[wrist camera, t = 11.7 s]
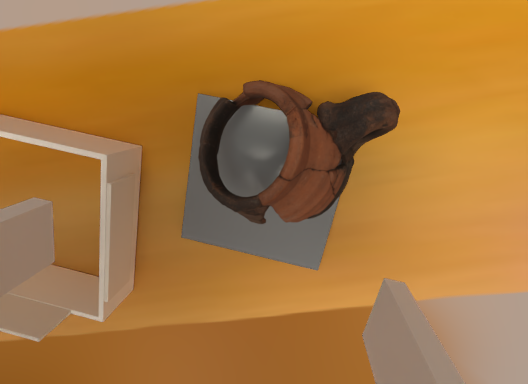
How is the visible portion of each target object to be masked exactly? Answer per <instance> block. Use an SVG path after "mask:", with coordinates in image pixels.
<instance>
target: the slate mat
mask: <svg viewBox="0 0 528 384" xmlns="http://www.w3.org/2000/svg"><path fill="white" fill-rule="evenodd" d="M219 99H220V98H218V97H214V96H209V95H204V94H199V93H198V98H197V107H196V115H195V124H194V132H193V141H192V150H191V158H190V167H189V175H188V184H187V193H186V201H185V210H184V218H183V227H182V236H181V237H182V238H186V239H190V240H195V241H199V242H203V243H207V244H211V245H215V246H219V247H223V248H227V249H231V250H236V251H240V252H244V253H248V254H252V255H256V256H260V257H264V258H268V259H273V260H277V261H281V262H285V263H289V264H293V265H297V266H301V267H305V268H310V269H314V270H318V269H319V265H320V262H321V258H322V255H323V252H324V248H325V245H326V241H327V238H328V235H329V231H330V228H331V224H332V221H333V218H334V214H335V211H336V207H337V204H338V201H339V197H340V196H339V197H338V198H337V200H336V201H335V202H334V204H333V205H332V206H331V207H330V208H329V209H328V210H327V211H326V212H324V213H323V214H321V215H320V216H317V217H315V218H310V219H305V220H302V221H300V222H288V223H286V222H284V221H283V220H282V219H281V218H280V217H279V215H278V214H277V213H276V212H275V211H274V209H273V207H271V206H270V207H269V208H268V209H267V211H266V212H265V216H264V218H265V219H266V223H264V224H257V223H254V222H250V221H249V220H248V219H247V218H245V217H244V216H242V215H240V214H239V213H237V212H234V211H233V210H231V209H229V208H227V207H226V206H224V205H222V204H221V203H220V202H219V201H217V200H216V199H215V198H214V197H213V196H212V194H211V193H210V192H209V191H208V189H207V187H206V186H205V184H204V182H203V179H202V176H201V172H200V166H199V159H198V156H199V147H200V138H201V132H202V129H203V126H204V124H205V121H206V119H207V117H208V115H209V114H210V111H211V110H212V108H213V107H214V105H215V104H216V103H217V101H218V100H219ZM230 101H232V102H233V100H230ZM288 149H289V126H288V123H287V117H286V116H285V115H284V113H283V112H282V111H281V110H276V109H271V108H266V107H262V106H257V105H243V106H241V107H240V108H239V109H238V110H237V111H236V112H235V113H234V115H233V116H232V117H231V118H230V120H229V121H228V122H227V124H226V126H225V128H224V130H223V133H222V136H221V140H220V146H219V151H218V154H217V160H218V169H219V176H220V178H221V180H222V182H223V184H224V185H225V187H226V188H227V189H228V190H229V191H230V192H232V193H233V194H235V195H238V196H241V197H250V196H255V195H258V194H259V193H260V192H262V191H263V190H265V189H266V188H268V187H269V186H270V185H271V184H272V183H273V182H274V180H275V179H276V178H277V177H278V176H279V174H280V172H281V170H282V168H283V166H284V163H285V161H286V157H287V154H288ZM341 162H342V160H340V163H339V164H338V166H339V165H340V164H341Z"/></svg>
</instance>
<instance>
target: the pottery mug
mask: <svg viewBox="0 0 528 384" xmlns="http://www.w3.org/2000/svg"><path fill="white" fill-rule="evenodd" d="M264 98H266V99H269V100H271V101H273V102H274V103H276V104H277V105H278V106H279V108H280V109H281V110H282V112H283V113H284V115H285V116H286V117H287V123H288V126H289V149H288V154H287V157H286V161H285V163H284V166H283V168H282V170H281V172H280V174H279V176H278V177H277V178H276V179H275V180H274V182H273V183H272V184H271V185H270V186H269V187H268V188H266V189H265V190H263V191H262V192H260V193H259V194H258V195H255V196H250V197H241V196H238V195H235V194H233V193H232V192H230V191H229V190H228V189H227V188H226V187H225V185H224V184H223V182H222V180H221V178H220V176H219V169H218V160H217V154H218V151H219V146H220V140H221V136H222V133H223V130H224V128H225V126H226V124H227V122H228V121H229V120H230V118H231V117H232V116H233V115H234V113H235V112H236V111H237V110H238V109H239V108H240V107H241V106H243V105H255V104H258V103H259V102H260V101H262V100H263V99H264ZM311 105H312V101H311V100H310V99H309V98H307V97H306V96H304V95H303V94H301V93H299V92H297V91H295V90H293V89H291V88H288V87H285V86H281V85H276V84H273V83H270V82H264V81H261V80H259V81H252V82H247V83H245V84H244V85H243V93H242V94H241V95H240V96H239V97H238V98H236V99H235V100H234V101H233V102H232V101H230V100H228V99H227V98H220V99H219V100H218V101H217V103H216V104H215V105H214V107H213V108H212V110H211V111H210V114H209V115H208V117H207V119H206V121H205V124H204V126H203V129H202V132H201V138H200V147H199V156H198V159H199V166H200V172H201V176H202V179H203V182H204V184H205V186H206V187H207V189H208V191H209V192H210V193H211V194H212V196H213V197H214V198H215V199H216V200H217V201H219V202H220V203H221V204H222V205H224V206H226V207H227V208H229V209H231V210H233V211H234V212H237V213H239V214H240V215H242V216H244V217H245V218H247V219H248V220H249V221H250V222H254V223H257V224H264V223H266V219H265V218H264V216H265V212H266V211H267V209H268V208H269V207H270V206H271V207H273V209H274V211H275V212H276V213H277V214H278V215H279V217H280V218H281V219H282V220H283V221H284V222H286V223H288V222H300V221H302V220H305V219H310V218H315V217H317V216H320V215H321V214H323V213H324V212H326V211H327V210H328V209H329V208H330V207H331V206H332V205H333V204H334V202H335V201H336V200H337V198H338V197H339V196H340V195H341V193H342V192H343V190H344V188H345V186H346V184H347V182H348V179H349V175H350V173H351V169H352V166H353V164H354V159H353V156H354V154H355V153H356V151H357V150H358V149H359V148H360V147H361V146H362V145H363V144H364V143H365V142H368V141H370V140H372V139H374V138H377V137H379V136H382V135H384V134H386V133H388V132H389V131H391V130H393V129H394V128H395V127H396V126H397V123H398V117H399V114H400V109H399V107H398V105H397V103H396V101H394V100H393V99H391V98H389V97H387V96H386V95H384V94H383V93H380V92H371V93H366V94H363V95H360V96H356V97H353V98H351V99H349V100H347V101H345V102H342V103H337V104H334V103H332V102H329V101H327V102H325V103H322V104H321V105H320V106H319V107H318V111H317V115H318V117H319V118H317V117H316V116H315V115H314V114H311V113H310V112H309V111H308V110H307V109H308V108H309V107H310V106H311ZM340 160H342V162H341V164H340V165H339V166H338V164H339V163H340Z"/></svg>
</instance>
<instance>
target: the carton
mask: <svg viewBox="0 0 528 384" xmlns="http://www.w3.org/2000/svg"><path fill="white" fill-rule="evenodd" d="M0 137H5V138H9V139H13V140H18V141H22V142H26V143H31V144H35V145H40V146H44V147H48V148H53V149H57V150H61V151H66V152H70V153H74V154H79V155H83V156H88V157H92V158H96V159H101V199H100V259H99V277H98V276H94V275H90V274H86V273H82V272H78V271H74V270H71V269H67V268H63V267H59V266H55V265H51V264H50V265H49V266H47V267H46V268H44V269H43V270H41V271H40V272H38V273H37V274H35V275H34V276H32V277H30V278H29V279H27V280H26V281H24V282H23V283H21V284H20V285H18V286H17V287H15V288H14V289H12V290H11V291H9V292H7V293H6V294H4V295H3V296H1V297H0V331H2V332H6V333H9V334H13V335H16V336H20V337H24V338H27V339H31V340H34V341H38V342H39V341H41V340H42V339H43V338H44V337H45V336H46V335H47V334H48V333H49V332H51V331H52V330H53V329H54V328H55V327H56V326H57V325H58V324H60V323H61V322H62V321H63V320H64V319H65V318H66V317H67V316H68V315H70V314H74V315H78V316H82V317H86V318H89V319H93V320H97V321H100V322H104V321H105V320H106V318H107V317H108V316H109V315H110V314H111V313H112V312H113V311H114V310H115V309H116V308H117V307H118V305H119V304H120V303H121V302H122V301H123V300H124V299H125V298H126V297H127V296H128V295H129V294H130V292H131V291H132V290H133V288H134V272H135V256H136V240H137V224H138V207H139V191H140V175H141V159H142V146H140V145H135V144H131V143H126V142H122V141H117V140H113V139H108V138H104V137H99V136H95V135H91V134H86V133H82V132H77V131H73V130H68V129H64V128H59V127H55V126H50V125H46V124H41V123H37V122H32V121H28V120H23V119H19V118H14V117H10V116H6V115H1V114H0Z"/></svg>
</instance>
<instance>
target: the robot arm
mask: <svg viewBox="0 0 528 384" xmlns="http://www.w3.org/2000/svg"><path fill="white" fill-rule="evenodd" d="M53 262H55V253H54V229H53V204H52V201H48V200H43V199H39V198H35V197H34V198H31V199H28V200H25V201H22V202H20V203H17V204H14V205H11V206H8V207H6V208H3V209H0V297H1V296H3V295H4V294H6V293H7V292H9V291H11V290H12V289H14V288H15V287H17V286H18V285H20V284H21V283H23V282H24V281H26V280H27V279H29V278H30V277H32V276H34V275H35V274H37V273H38V272H40V271H41V270H43V269H44V268H46V267H47V266H49V265H50V264H52V263H53ZM362 336H363V340H364V343H365V347H366V351H367V354H368V358H369V361H370V365H371V368H372V372H373V375H374V379H375V382H376V384H465V382H464V380H463V379H462V377H461V375H460V374H459V372H458V370H457V369H456V367H455V365H454V364H453V362H452V360H451V359H450V357H449V355H448V354H447V352H446V350H445V349H444V347H443V345H442V344H441V342H440V341H439V339H438V337H437V335H436V334H435V332H434V331H433V329H432V327H431V325H430V324H429V322H428V320H427V319H426V317H425V316H424V314H423V312H422V311H421V309H420V307H419V306H418V304H417V302H416V301H415V299H414V297H413V296H412V294H411V292H410V291H409V289H408V287H407V286H406V284H405V283H404V282H399V281H395V280H391V279H386V278H384V280H383V283H382V285H381V288H380V290H379V293H378V296H377V298H376V301H375V303H374V306H373V309H372V311H371V314H370V316H369V319H368V322H367V324H366V327H365V330H364V332H363V335H362Z"/></svg>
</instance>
